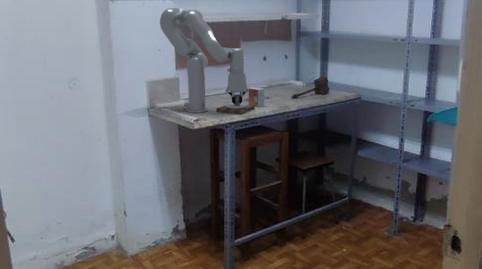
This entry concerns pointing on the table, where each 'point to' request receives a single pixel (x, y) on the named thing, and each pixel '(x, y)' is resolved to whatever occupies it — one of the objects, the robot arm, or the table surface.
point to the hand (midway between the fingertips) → (237, 103)
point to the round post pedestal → (236, 103)
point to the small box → (256, 97)
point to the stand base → (235, 111)
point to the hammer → (317, 87)
